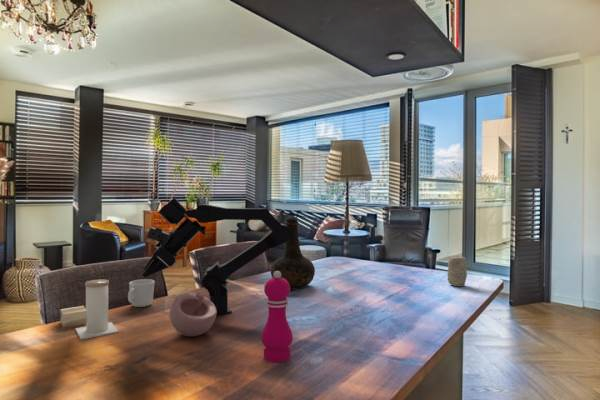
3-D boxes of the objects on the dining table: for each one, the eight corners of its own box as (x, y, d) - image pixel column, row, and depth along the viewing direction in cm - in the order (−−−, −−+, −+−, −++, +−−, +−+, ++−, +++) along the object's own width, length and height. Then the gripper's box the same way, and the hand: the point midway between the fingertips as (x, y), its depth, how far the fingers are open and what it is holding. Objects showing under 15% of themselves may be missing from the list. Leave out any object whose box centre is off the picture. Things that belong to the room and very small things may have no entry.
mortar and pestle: (191, 347, 95) (191, 300, 95) (159, 337, 101) (159, 294, 101) (225, 332, 105) (225, 290, 105) (194, 324, 111) (194, 284, 111)
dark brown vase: (317, 282, 164) (317, 217, 164) (311, 293, 147) (311, 219, 146) (276, 280, 167) (276, 216, 167) (265, 291, 150) (265, 219, 149)
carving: (469, 287, 157) (469, 258, 157) (450, 287, 157) (451, 257, 157) (463, 283, 163) (463, 255, 163) (445, 283, 163) (445, 255, 163)
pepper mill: (261, 351, 93) (261, 268, 92) (291, 350, 93) (291, 267, 93) (261, 364, 86) (261, 274, 85) (293, 363, 86) (294, 273, 86)
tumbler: (113, 328, 106) (113, 281, 106) (91, 335, 102) (91, 285, 101) (102, 324, 110) (102, 278, 109) (81, 330, 105) (81, 282, 105)
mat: (118, 332, 105) (118, 330, 105) (80, 339, 99) (80, 338, 99) (111, 323, 112) (111, 321, 112) (75, 329, 106) (75, 328, 106)
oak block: (87, 324, 112) (87, 310, 112) (63, 328, 108) (62, 314, 108) (83, 318, 116) (83, 305, 116) (60, 322, 113) (60, 309, 113)
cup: (140, 312, 123) (140, 287, 123) (118, 310, 124) (118, 285, 124) (159, 302, 133) (159, 279, 133) (138, 301, 135) (138, 278, 135)
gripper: (162, 215, 127) (126, 250, 124) (162, 219, 110) (120, 260, 106) (187, 238, 130) (152, 273, 126) (191, 246, 112) (151, 286, 109)
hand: (144, 273), depth 117 cm, fingers open, 9 cm apart
